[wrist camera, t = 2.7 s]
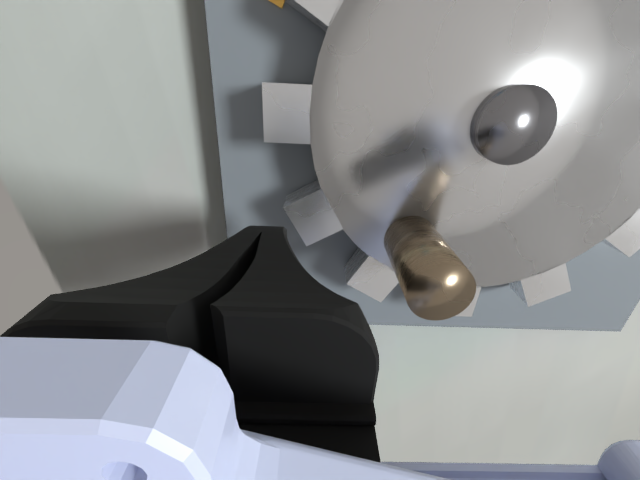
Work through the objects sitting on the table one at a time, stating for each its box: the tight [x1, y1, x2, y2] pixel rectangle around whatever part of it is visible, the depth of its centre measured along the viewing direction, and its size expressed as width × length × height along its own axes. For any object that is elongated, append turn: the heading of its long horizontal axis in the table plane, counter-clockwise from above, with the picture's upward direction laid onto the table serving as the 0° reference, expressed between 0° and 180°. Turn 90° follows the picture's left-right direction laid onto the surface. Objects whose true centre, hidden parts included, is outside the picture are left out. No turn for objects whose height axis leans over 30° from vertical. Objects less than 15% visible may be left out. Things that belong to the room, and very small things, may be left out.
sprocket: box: [262, 0, 640, 321], centre depth 10 cm, size 16×16×5 cm
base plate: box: [204, 0, 640, 331], centre depth 12 cm, size 20×20×1 cm
